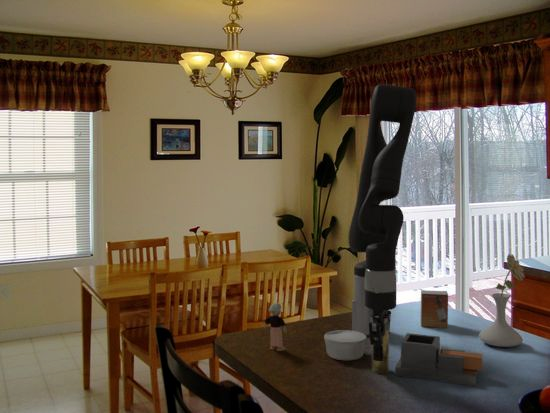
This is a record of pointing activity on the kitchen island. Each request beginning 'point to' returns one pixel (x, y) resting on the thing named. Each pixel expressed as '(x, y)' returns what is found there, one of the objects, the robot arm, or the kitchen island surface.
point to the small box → (434, 309)
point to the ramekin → (345, 344)
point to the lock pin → (467, 359)
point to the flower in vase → (503, 313)
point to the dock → (431, 361)
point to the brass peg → (384, 364)
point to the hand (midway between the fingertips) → (380, 357)
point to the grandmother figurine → (276, 327)
